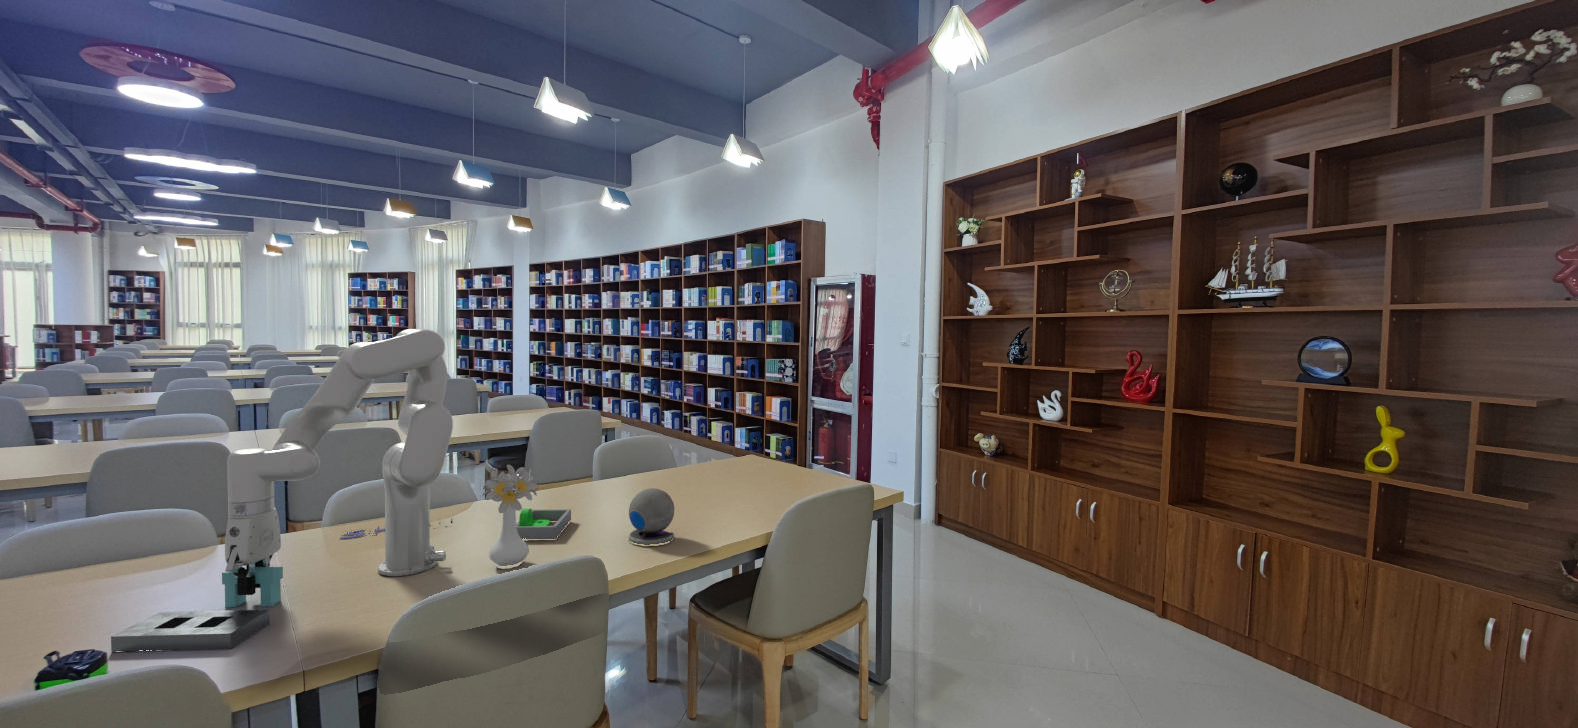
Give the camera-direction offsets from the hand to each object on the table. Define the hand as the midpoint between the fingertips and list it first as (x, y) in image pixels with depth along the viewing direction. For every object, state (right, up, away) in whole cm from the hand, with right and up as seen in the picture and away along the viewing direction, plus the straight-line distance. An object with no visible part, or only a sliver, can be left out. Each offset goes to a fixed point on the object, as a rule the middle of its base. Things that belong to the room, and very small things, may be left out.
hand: (253, 590), depth 134 cm
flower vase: (+45, -3, +25) cm, 51 cm away
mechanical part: (+40, -2, +52) cm, 66 cm away
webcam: (+75, -3, +47) cm, 89 cm away
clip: (0, -3, 0) cm, 3 cm away
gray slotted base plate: (+1, -4, -15) cm, 15 cm away
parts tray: (+42, -2, +53) cm, 67 cm away
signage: (-2, -1, +52) cm, 52 cm away
